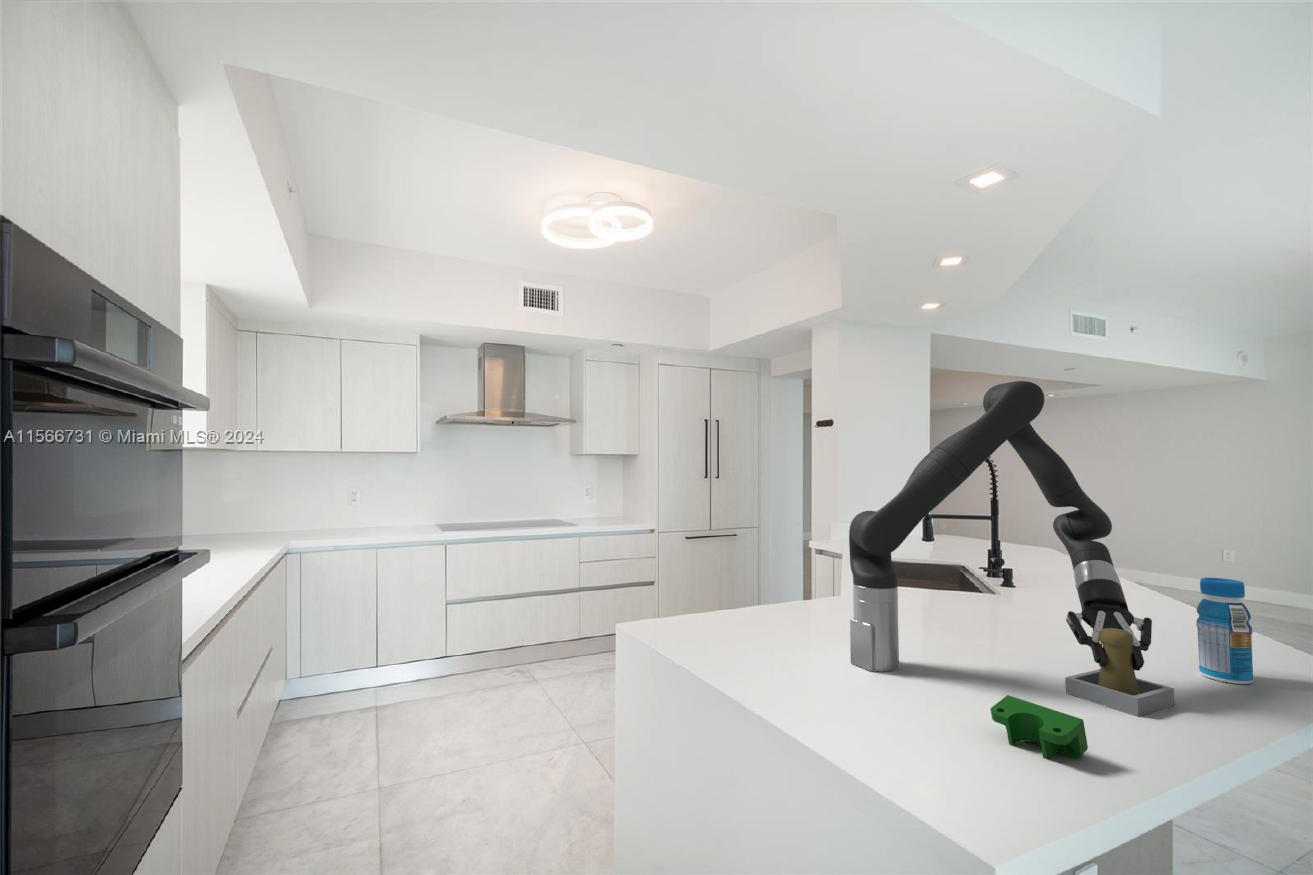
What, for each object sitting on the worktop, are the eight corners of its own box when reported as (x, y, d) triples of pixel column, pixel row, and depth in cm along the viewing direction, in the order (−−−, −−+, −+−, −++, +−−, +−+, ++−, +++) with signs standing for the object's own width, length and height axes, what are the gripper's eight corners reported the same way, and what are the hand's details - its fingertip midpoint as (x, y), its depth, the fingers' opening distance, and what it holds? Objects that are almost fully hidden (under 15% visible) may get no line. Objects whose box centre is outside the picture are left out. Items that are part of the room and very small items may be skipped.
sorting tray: (1138, 716, 105) (1137, 698, 105) (1065, 693, 116) (1065, 677, 116) (1174, 705, 110) (1173, 688, 110) (1102, 683, 121) (1101, 668, 121)
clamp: (1008, 769, 95) (977, 711, 98) (1029, 751, 98) (998, 695, 100) (1081, 772, 85) (1045, 707, 88) (1102, 752, 88) (1066, 689, 91)
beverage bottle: (1197, 678, 124) (1193, 580, 125) (1198, 668, 131) (1195, 575, 132) (1255, 688, 119) (1250, 585, 120) (1253, 678, 125) (1249, 580, 126)
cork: (1146, 696, 110) (1143, 634, 110) (1108, 693, 111) (1106, 632, 111) (1127, 684, 116) (1125, 626, 116) (1091, 682, 117) (1089, 624, 117)
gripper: (1060, 574, 124) (1077, 651, 112) (1146, 580, 118) (1174, 661, 107) (1054, 596, 128) (1071, 671, 117) (1137, 601, 123) (1163, 681, 111)
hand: (1120, 666), depth 112 cm, fingers closed on cork, 4 cm apart
